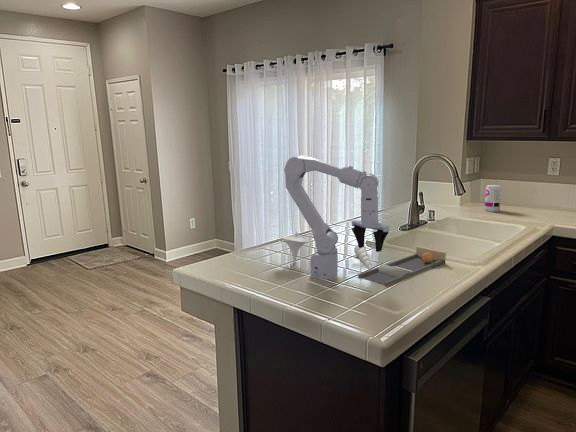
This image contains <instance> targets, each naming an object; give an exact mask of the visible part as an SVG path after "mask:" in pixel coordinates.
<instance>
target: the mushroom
mask: <svg viewBox="0 0 576 432" xmlns="http://www.w3.org/2000/svg"><path fill="white" fill-rule="evenodd" d="M280 239H281V240H282V241H283V242H284V243H285V244H286V245H287V246H288V247H289V250H290V252H291V255H292V259H293V261H294V263H296V262H297V256H298V253H299V250H300V249H301V248H302V246H303V245H305V244H307V243H308V240H307V239H305V238H304V237H302V236H301V235H300V234H299V233H298V231H296V232H295V233H294V234H293V235H288V236H280Z"/></svg>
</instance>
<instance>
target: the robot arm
mask: <svg viewBox="0 0 576 432" xmlns="http://www.w3.org/2000/svg"><path fill="white" fill-rule="evenodd" d="M283 171H284V174H285V175H284V178H285V188H286V190H287V192H288V194H290V197H291V198H292V200H293V201H294V203H295V205H296V206H297V208H298V209H299V211H300V213H301V215H302V216H303V218H304V220H305V221H306V223H307V224H308V227H309V228H310V229H311V231H312V236H313V239H314V242H315V247H316V252H315V254H313V255H311V256H310V274H308V275H309V276H311V277H314V278H317V279H320V280H322V281H326V280H330V279H333V278H335V277H338V276H341V275H343V272H340V271H339V270H338V268H339V266H338V265H339V263H338V253H339V252H338V248H337V246H336V245H337V244H338V242H339V236H338V234H337V233H336V231H334V230H333V229H332V228H331V227H330V226H329V225H328V223H326V222H325V221H324V219H323V218H322V216H321V215H320V213H319V211H318V210H317V208H316V206H315V204H314V203H313V201H312V200H311V198H310V197H309V195H308V193H307V191H306V190H305V188H304V187H303V181H304V177H305V174H306V173H309V172H315V171H316V172H319V173H323V174H325V175H329V176H332V177H335V178H337V179H338V182H339V183H342V184H343V185H347V186H350V187H353V188H355V189H360V191H361V194H360V195H361V197H360V219H353V220H351V227H352V228H351V231H352V233H353V235H354V237H355V240H356V242H357V243H356V244H357V245H358V247H359V248H362V247H364V246H365V235H366V232H367V231H366V230H367V229H370V230H375V231H372V234H373V237H374V243H375V252H376V253H379V252H382V250H383V246H384V242H385V240H386V238H387V236H388V234H389V231H390V226H389V224H388V225H387V224H384V223H381V222H380V221H379V196H378V194H379V192H378V187H379V183H380V182H379V178H378V177H377V175H375V174H373V173H372V172H371V173H368V172H367V171H366V170H363V171H361V170H358V169H355V168H354V166H352V165H349V166H347V165H345V166H343V167H342V168H341V167H338V166H335V165H333V164H331V163H328V162H325V161H322V160H320V159H318V158H314V157H311V156H305V155H303V154H299V155H297V156H292V157H289V158H288V160H287V161H286V163H285V165H284V169H283Z"/></svg>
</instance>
